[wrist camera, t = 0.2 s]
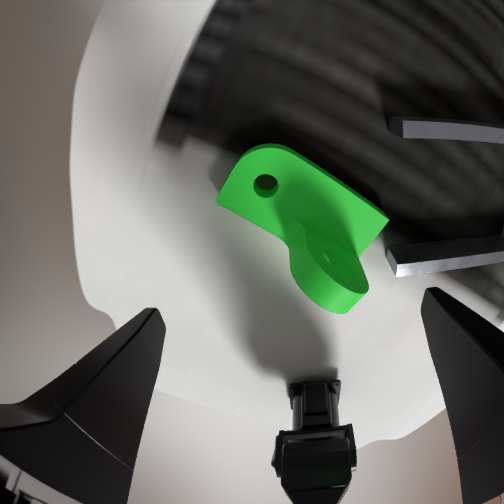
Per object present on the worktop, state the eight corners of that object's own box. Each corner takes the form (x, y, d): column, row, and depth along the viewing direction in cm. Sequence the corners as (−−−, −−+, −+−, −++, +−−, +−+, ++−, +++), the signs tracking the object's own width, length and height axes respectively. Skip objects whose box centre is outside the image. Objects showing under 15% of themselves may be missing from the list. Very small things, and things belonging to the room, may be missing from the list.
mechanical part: (381, 210, 23) (418, 262, 16) (339, 261, 26) (356, 325, 19) (257, 128, 20) (245, 148, 14) (219, 192, 23) (193, 240, 17)
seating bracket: (505, 243, 22) (520, 258, 20) (386, 257, 25) (396, 276, 22) (521, 128, 16) (541, 135, 14) (387, 116, 19) (402, 120, 16)
